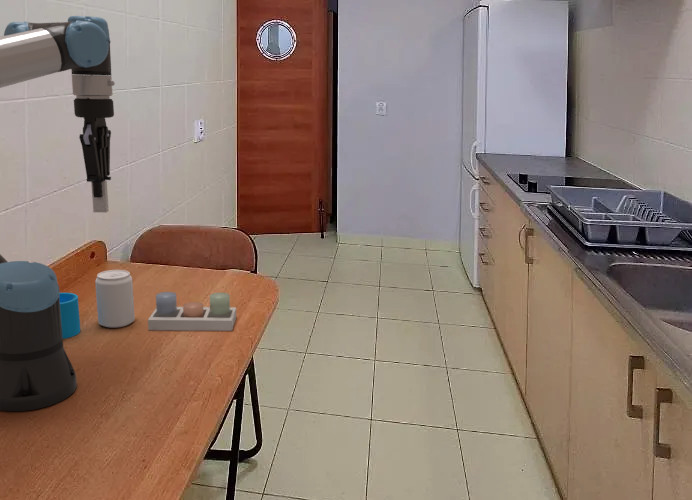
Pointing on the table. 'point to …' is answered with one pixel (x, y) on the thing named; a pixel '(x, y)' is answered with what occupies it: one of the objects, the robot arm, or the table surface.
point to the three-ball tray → (192, 321)
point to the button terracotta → (193, 310)
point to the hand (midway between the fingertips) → (101, 211)
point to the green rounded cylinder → (219, 303)
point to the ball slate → (166, 302)
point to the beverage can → (114, 298)
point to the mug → (69, 314)
